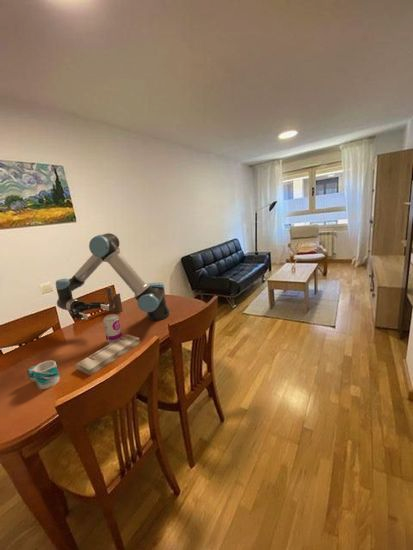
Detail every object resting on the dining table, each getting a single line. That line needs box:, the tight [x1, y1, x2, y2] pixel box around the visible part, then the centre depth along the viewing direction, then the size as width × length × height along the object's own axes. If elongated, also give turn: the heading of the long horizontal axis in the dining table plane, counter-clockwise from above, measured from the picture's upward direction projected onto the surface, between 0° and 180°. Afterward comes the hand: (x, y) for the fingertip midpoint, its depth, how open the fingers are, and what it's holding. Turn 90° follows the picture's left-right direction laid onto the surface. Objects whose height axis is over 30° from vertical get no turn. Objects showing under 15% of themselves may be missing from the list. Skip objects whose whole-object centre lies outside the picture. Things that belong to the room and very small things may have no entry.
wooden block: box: [105, 286, 124, 314], centre depth 175 cm, size 4×11×18 cm, turn 62°
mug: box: [26, 359, 61, 390], centre depth 104 cm, size 8×12×8 cm
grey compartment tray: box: [75, 334, 141, 376], centre depth 122 cm, size 30×10×3 cm, turn 149°
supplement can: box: [102, 313, 123, 345], centre depth 133 cm, size 8×8×15 cm
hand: (98, 312), depth 136 cm, fingers open, 13 cm apart
